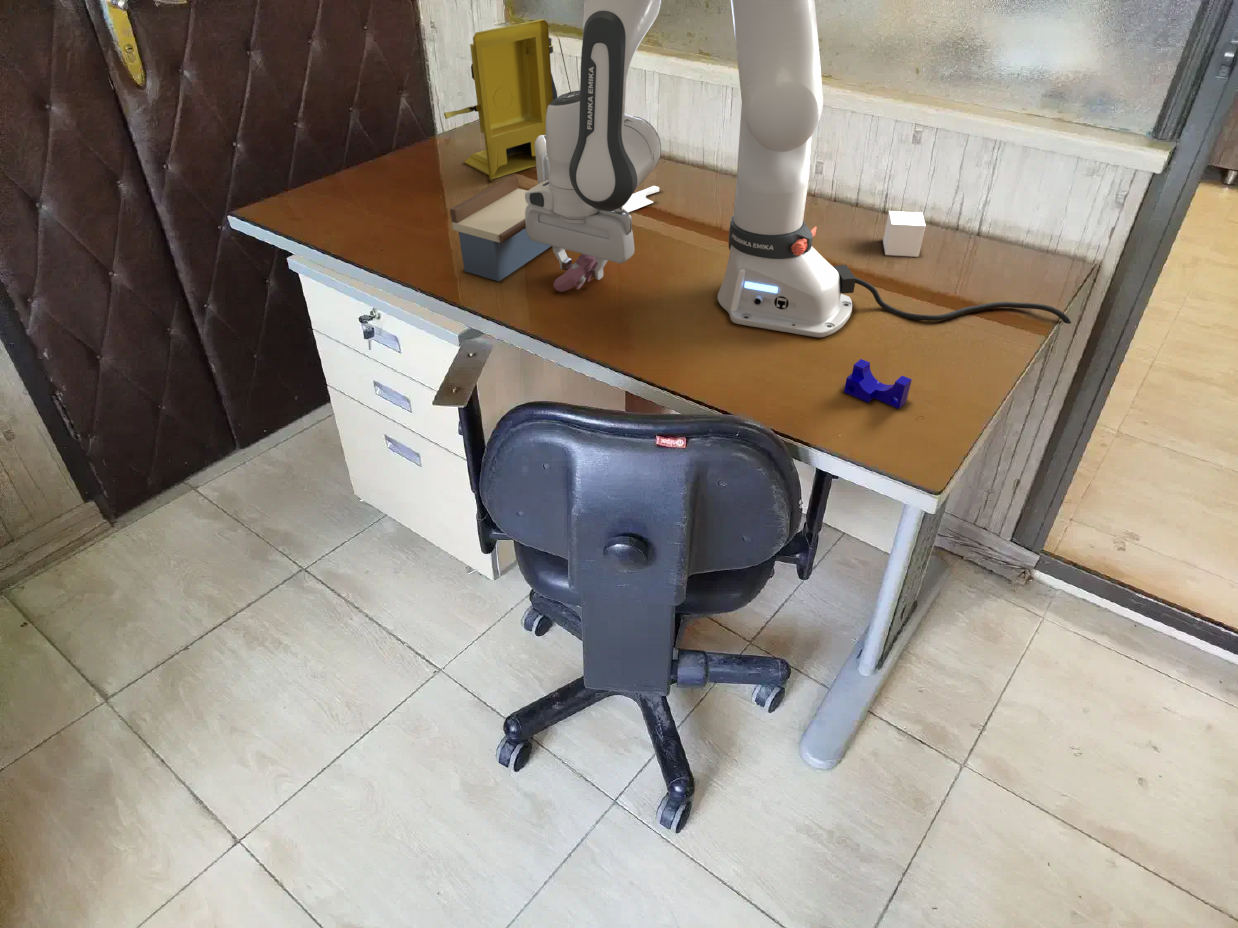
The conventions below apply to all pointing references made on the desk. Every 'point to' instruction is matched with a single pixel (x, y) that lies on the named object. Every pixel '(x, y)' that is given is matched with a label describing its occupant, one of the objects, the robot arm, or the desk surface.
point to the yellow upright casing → (511, 95)
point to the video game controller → (576, 274)
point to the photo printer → (542, 159)
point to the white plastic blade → (640, 199)
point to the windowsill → (495, 231)
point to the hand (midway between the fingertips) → (581, 273)
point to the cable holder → (876, 386)
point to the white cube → (904, 233)
